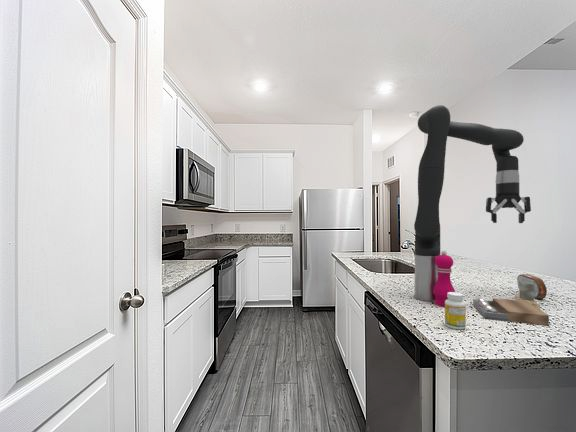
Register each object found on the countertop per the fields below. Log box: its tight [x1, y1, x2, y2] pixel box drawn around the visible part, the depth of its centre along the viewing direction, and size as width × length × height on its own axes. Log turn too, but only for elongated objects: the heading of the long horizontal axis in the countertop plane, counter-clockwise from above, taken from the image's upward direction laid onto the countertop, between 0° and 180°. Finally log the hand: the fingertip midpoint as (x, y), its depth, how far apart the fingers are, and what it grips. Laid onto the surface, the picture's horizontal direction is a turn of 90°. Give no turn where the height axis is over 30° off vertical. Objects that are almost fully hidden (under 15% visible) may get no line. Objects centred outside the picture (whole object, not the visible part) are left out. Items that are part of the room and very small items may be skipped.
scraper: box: [514, 282, 541, 310], centre depth 107 cm, size 3×14×8 cm, turn 159°
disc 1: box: [476, 296, 490, 305], centre depth 102 cm, size 4×4×2 cm
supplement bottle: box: [444, 291, 467, 330], centre depth 84 cm, size 5×5×10 cm
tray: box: [472, 298, 509, 322], centre depth 97 cm, size 6×16×2 cm, turn 158°
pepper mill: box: [433, 250, 456, 308], centre depth 106 cm, size 7×7×20 cm
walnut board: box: [491, 297, 550, 327], centre depth 94 cm, size 10×16×3 cm, turn 158°
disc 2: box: [479, 300, 494, 308], centre depth 97 cm, size 4×4×2 cm
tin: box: [516, 273, 548, 300], centre depth 118 cm, size 15×3×8 cm, turn 168°
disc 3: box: [483, 304, 499, 313], centre depth 93 cm, size 4×4×2 cm
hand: (507, 223), depth 114 cm, fingers open, 8 cm apart
